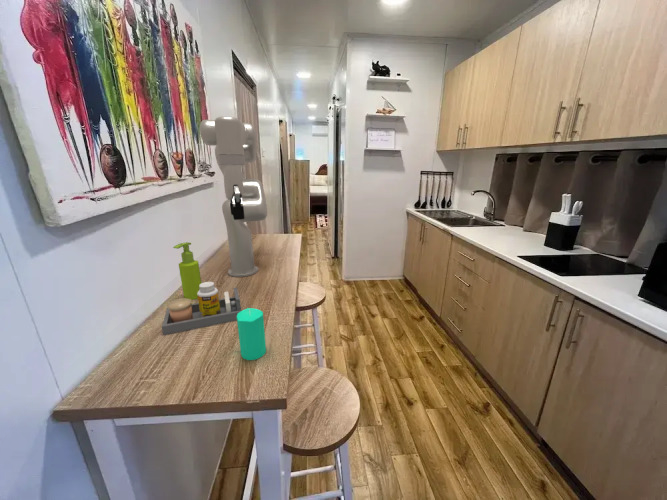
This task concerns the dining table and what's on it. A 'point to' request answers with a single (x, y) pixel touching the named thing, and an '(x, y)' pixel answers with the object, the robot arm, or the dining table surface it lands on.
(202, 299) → the supplement bottle
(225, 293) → the pusher paddle
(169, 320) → the pusher lane
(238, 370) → the dining table surface
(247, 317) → the candle
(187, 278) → the soap dispenser
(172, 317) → the beige round container
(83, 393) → the dining table surface
